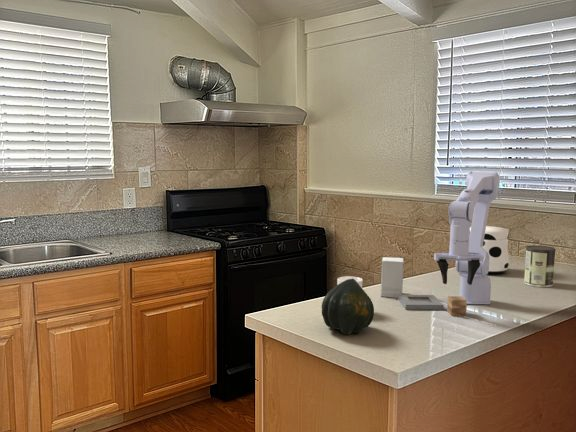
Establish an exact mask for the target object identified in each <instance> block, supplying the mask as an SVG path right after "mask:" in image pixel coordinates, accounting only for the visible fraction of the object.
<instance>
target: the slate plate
mask: <svg viewBox="0 0 576 432" xmlns="http://www.w3.org/2000/svg"><path fill="white" fill-rule="evenodd" d="M397 300H398V301H400V302H399V303H400V304H401V305H402V307H403V308H404V309H405V310H413V311H417V310H418V311H421V310H422V311H423V310H426V311H428V310H430V311H433V310H434V311H438V310H439V311H443V310H444V304H443V303H442V302H441V301H440V300H439V299H438V298H437V297H436V296H435V295H434V294H402V295H398V298H397Z"/></svg>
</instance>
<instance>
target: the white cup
mask: <svg viewBox="0 0 576 432" xmlns="http://www.w3.org/2000/svg"><path fill="white" fill-rule="evenodd" d="M352 278H353V279H354V280H355V281H356V282H357V283H358V284H359V285H360V286H361V288H362V289H363V280H364V279H363V278H362V277H358V276H351V275H350V276H349V275H348V276H347V275H346V276H340V277H337V279H336V280H337V281H336V282H337V285H338V284H340V283H342V282H344V281H345V280H348V279H352ZM337 285H336V286H337Z"/></svg>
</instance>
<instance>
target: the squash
mask: <svg viewBox="0 0 576 432" xmlns="http://www.w3.org/2000/svg"><path fill="white" fill-rule="evenodd" d="M374 315H375V307H374V304H373V301H372V299H371V297H370V296H369V294H367V293H366V291H365V290H364V289H363V287H362V288H361V286H360V285H359V284H358V283H357V282H356V281H355V280H354V279H353V278H352V279H348V280H345V281H344V282H342V283H340V284H338V285H336V286H334V287H333V288H331V289H330V290H329V291H328V292H327V293H326V295H325V296H324V297H323V300H322V302H321V316H322V318H323V323H324V324H325V325H326V326H327V327H328V328H330V329H334V330H340V332H341V333H343V334H344V335H347V336H348V335H350V334H351V333H354V334H358V333H361V332H363V331H364V330H365V329H366V328H368V327H369V326H370V325H371V323H372V322H373V320H374Z"/></svg>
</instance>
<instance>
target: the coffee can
mask: <svg viewBox="0 0 576 432" xmlns="http://www.w3.org/2000/svg"><path fill="white" fill-rule="evenodd" d="M556 251H557V250H556V248H555V247H552V246H549V245H547V246H546V245H536V244H535V245H534V244H533V245H527V246H525V262H524V264H525V265H524V278H523V279H524V280H523V284H525V285H526V284H527V286H530V287H534V286H535V288H551V287H553V286H554V275H555V272H554V271H555V260H556Z"/></svg>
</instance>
